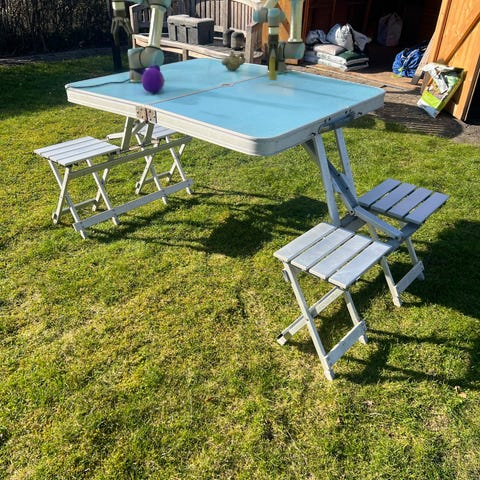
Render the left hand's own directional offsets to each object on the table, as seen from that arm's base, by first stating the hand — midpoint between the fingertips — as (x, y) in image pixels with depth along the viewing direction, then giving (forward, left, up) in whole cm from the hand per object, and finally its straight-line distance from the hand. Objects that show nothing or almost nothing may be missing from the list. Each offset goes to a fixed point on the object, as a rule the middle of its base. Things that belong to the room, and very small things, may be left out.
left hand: (124, 45), depth 296 cm
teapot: (+88, +44, -29) cm, 102 cm away
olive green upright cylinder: (+98, -19, -25) cm, 103 cm away
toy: (+14, -7, -29) cm, 33 cm away
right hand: (+98, -19, -19) cm, 102 cm away
